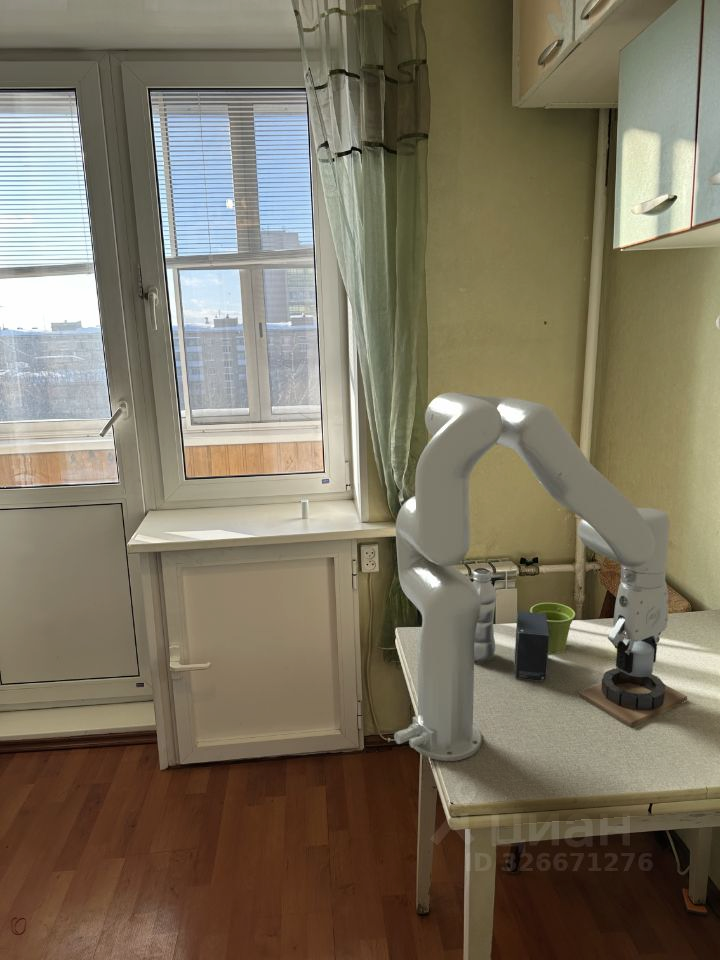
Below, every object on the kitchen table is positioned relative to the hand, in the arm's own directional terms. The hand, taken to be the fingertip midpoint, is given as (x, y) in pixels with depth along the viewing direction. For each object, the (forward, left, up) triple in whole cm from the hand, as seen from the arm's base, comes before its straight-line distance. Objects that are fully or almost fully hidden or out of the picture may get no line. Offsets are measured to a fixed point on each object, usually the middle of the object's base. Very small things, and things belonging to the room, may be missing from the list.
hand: (635, 663), depth 129 cm
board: (0, 0, -7) cm, 7 cm away
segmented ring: (0, 0, -7) cm, 7 cm away
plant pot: (+2, +23, -8) cm, 24 cm away
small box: (-8, +19, -8) cm, 22 cm away
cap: (0, 0, -1) cm, 1 cm away
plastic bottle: (-14, +28, -8) cm, 32 cm away
